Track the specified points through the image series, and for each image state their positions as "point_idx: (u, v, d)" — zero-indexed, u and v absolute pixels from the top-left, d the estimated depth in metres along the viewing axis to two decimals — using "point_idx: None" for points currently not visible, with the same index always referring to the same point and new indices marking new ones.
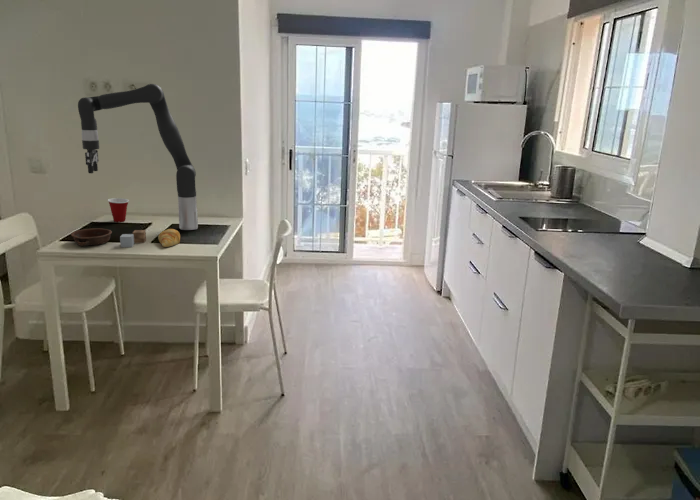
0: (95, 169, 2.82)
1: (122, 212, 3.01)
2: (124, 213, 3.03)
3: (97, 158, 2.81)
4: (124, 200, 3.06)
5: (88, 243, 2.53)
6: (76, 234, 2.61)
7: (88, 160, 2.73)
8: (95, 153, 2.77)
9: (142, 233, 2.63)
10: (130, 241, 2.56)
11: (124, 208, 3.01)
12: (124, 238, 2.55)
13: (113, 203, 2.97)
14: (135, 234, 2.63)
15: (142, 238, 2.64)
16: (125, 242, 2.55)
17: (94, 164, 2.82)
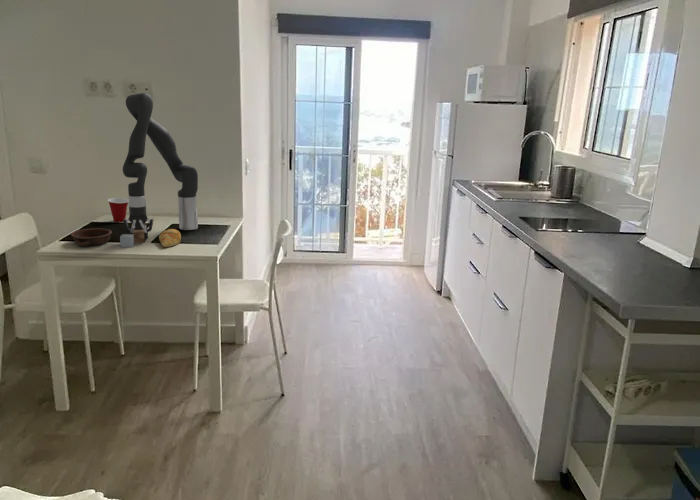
0: None
1: (122, 212, 3.01)
2: (124, 213, 3.03)
3: None
4: (124, 200, 3.06)
5: (88, 243, 2.53)
6: (76, 234, 2.61)
7: (145, 227, 2.65)
8: None
9: (142, 233, 2.63)
10: (130, 241, 2.56)
11: (124, 208, 3.01)
12: (124, 238, 2.55)
13: (113, 203, 2.97)
14: (135, 234, 2.63)
15: (142, 238, 2.64)
16: (125, 242, 2.55)
17: None
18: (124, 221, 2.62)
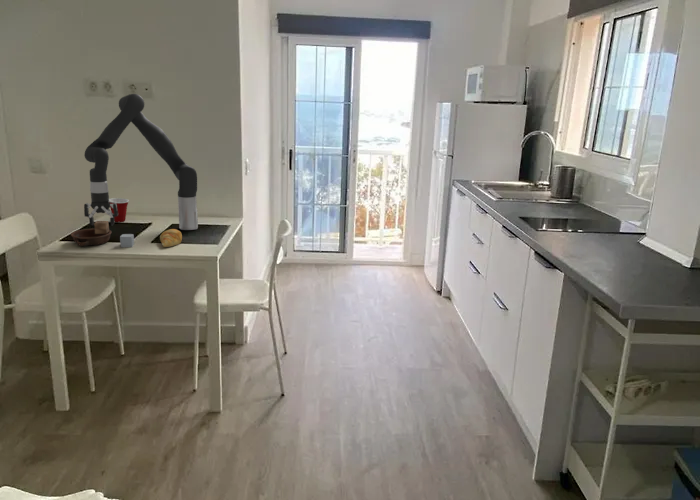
0: (93, 223, 2.60)
1: (122, 212, 3.01)
2: (124, 213, 3.03)
3: None
4: (124, 200, 3.06)
5: (88, 243, 2.53)
6: (76, 234, 2.61)
7: (110, 212, 2.59)
8: None
9: (104, 224, 2.58)
10: (130, 241, 2.56)
11: (123, 208, 3.01)
12: (124, 238, 2.55)
13: (113, 203, 2.97)
14: (97, 225, 2.58)
15: (104, 229, 2.59)
16: (125, 242, 2.55)
17: (92, 218, 2.59)
18: (85, 205, 2.56)
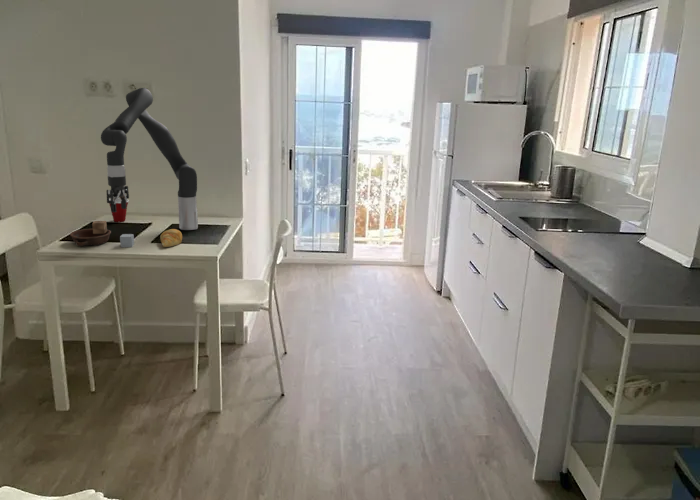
0: None
1: (122, 212, 3.01)
2: (124, 213, 3.03)
3: None
4: None
5: (87, 243, 2.53)
6: (75, 234, 2.61)
7: None
8: None
9: (102, 224, 2.58)
10: (130, 241, 2.56)
11: None
12: (124, 238, 2.55)
13: None
14: (95, 225, 2.58)
15: (102, 229, 2.59)
16: (125, 242, 2.55)
17: None
18: (112, 192, 2.46)
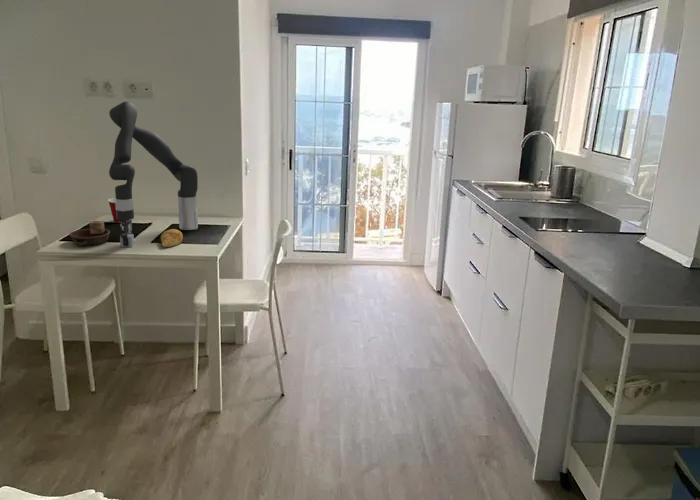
0: None
1: None
2: None
3: None
4: None
5: (86, 243, 2.54)
6: (75, 234, 2.61)
7: (129, 229, 2.59)
8: (121, 223, 2.54)
9: (99, 224, 2.58)
10: (130, 241, 2.55)
11: None
12: None
13: (113, 203, 2.97)
14: (92, 225, 2.58)
15: (99, 229, 2.59)
16: None
17: None
18: (125, 227, 2.50)
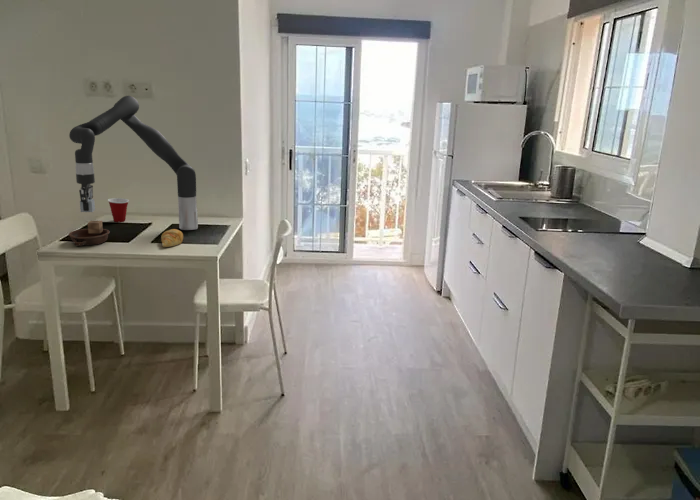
0: None
1: (122, 212, 3.01)
2: (124, 213, 3.03)
3: None
4: (124, 200, 3.06)
5: (85, 243, 2.54)
6: (74, 234, 2.61)
7: (90, 194, 2.58)
8: None
9: (97, 223, 2.58)
10: (90, 206, 2.54)
11: (124, 208, 3.01)
12: None
13: (113, 203, 2.97)
14: (90, 224, 2.58)
15: (97, 228, 2.59)
16: None
17: None
18: (85, 191, 2.49)
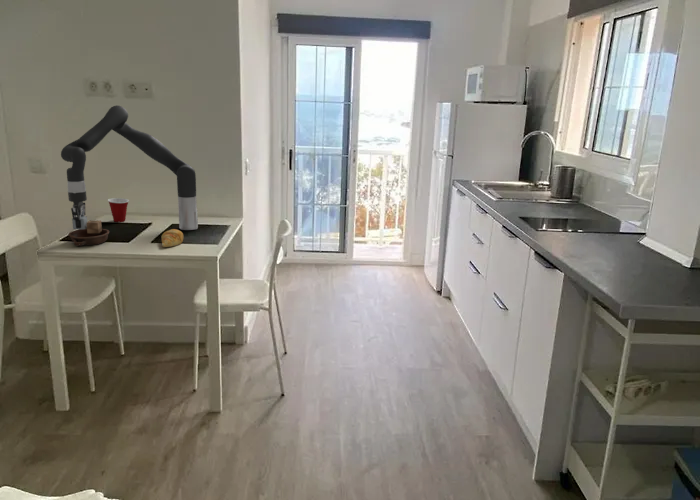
0: None
1: (122, 212, 3.01)
2: (124, 213, 3.03)
3: None
4: (124, 200, 3.06)
5: (85, 243, 2.54)
6: (74, 234, 2.61)
7: None
8: None
9: (96, 223, 2.59)
10: (82, 223, 2.57)
11: (124, 208, 3.01)
12: None
13: (113, 203, 2.97)
14: (89, 224, 2.58)
15: (96, 228, 2.59)
16: None
17: None
18: (77, 209, 2.52)
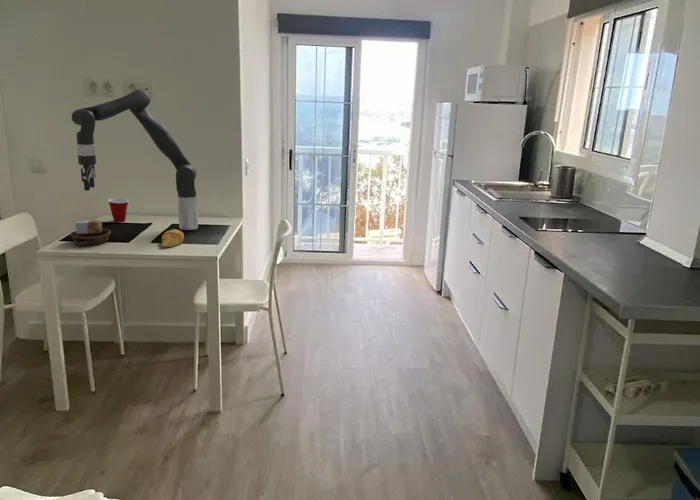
0: None
1: (122, 212, 3.01)
2: (124, 213, 3.03)
3: (82, 176, 2.57)
4: (124, 200, 3.06)
5: (86, 243, 2.54)
6: (75, 234, 2.62)
7: None
8: None
9: (97, 223, 2.59)
10: (86, 227, 2.58)
11: (124, 208, 3.01)
12: (80, 224, 2.57)
13: (113, 203, 2.97)
14: (90, 224, 2.58)
15: (97, 228, 2.59)
16: (81, 228, 2.58)
17: None
18: (86, 170, 2.54)
